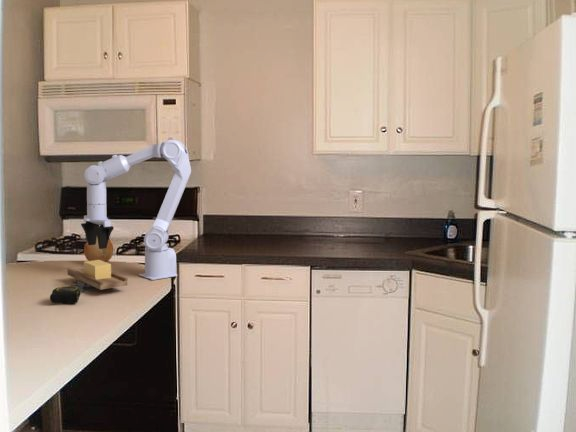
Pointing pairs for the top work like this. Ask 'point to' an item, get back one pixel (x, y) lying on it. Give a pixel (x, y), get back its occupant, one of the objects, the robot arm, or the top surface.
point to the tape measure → (65, 295)
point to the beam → (100, 283)
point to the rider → (97, 269)
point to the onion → (98, 252)
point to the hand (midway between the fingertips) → (97, 246)
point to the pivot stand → (84, 287)
